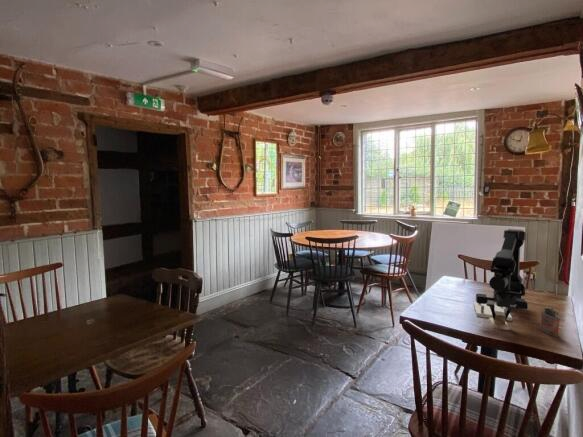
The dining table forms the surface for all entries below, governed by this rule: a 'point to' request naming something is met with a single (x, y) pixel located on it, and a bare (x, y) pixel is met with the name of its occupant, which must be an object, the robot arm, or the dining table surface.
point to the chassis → (488, 310)
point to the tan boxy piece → (499, 321)
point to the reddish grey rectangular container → (550, 321)
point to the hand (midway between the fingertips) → (499, 320)
